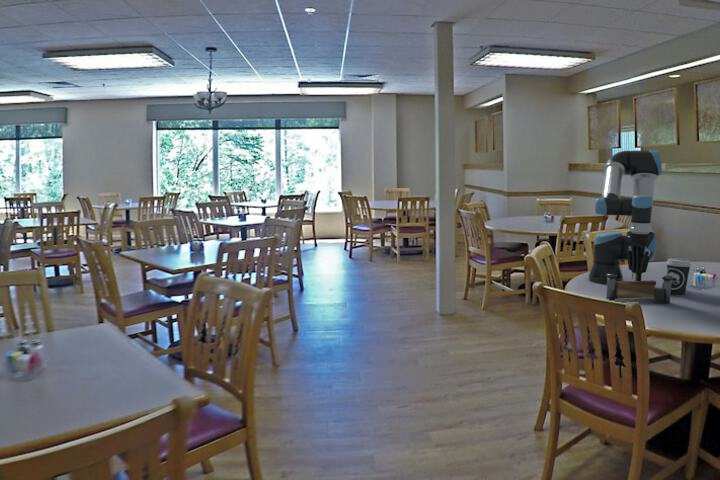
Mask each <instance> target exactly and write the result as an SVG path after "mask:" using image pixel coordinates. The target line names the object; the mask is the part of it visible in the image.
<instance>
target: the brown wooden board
mask: <svg viewBox="0 0 720 480" xmlns="http://www.w3.org/2000/svg"><path fill="white" fill-rule="evenodd" d="M656 285H657V281H656V280H652V279H651V280H641V281H633V280H623V281H616V287H615V300H619V299H622V300H623V299H626V300H627V299H650V298H651V299H654V294H655V288H656Z"/></svg>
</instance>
